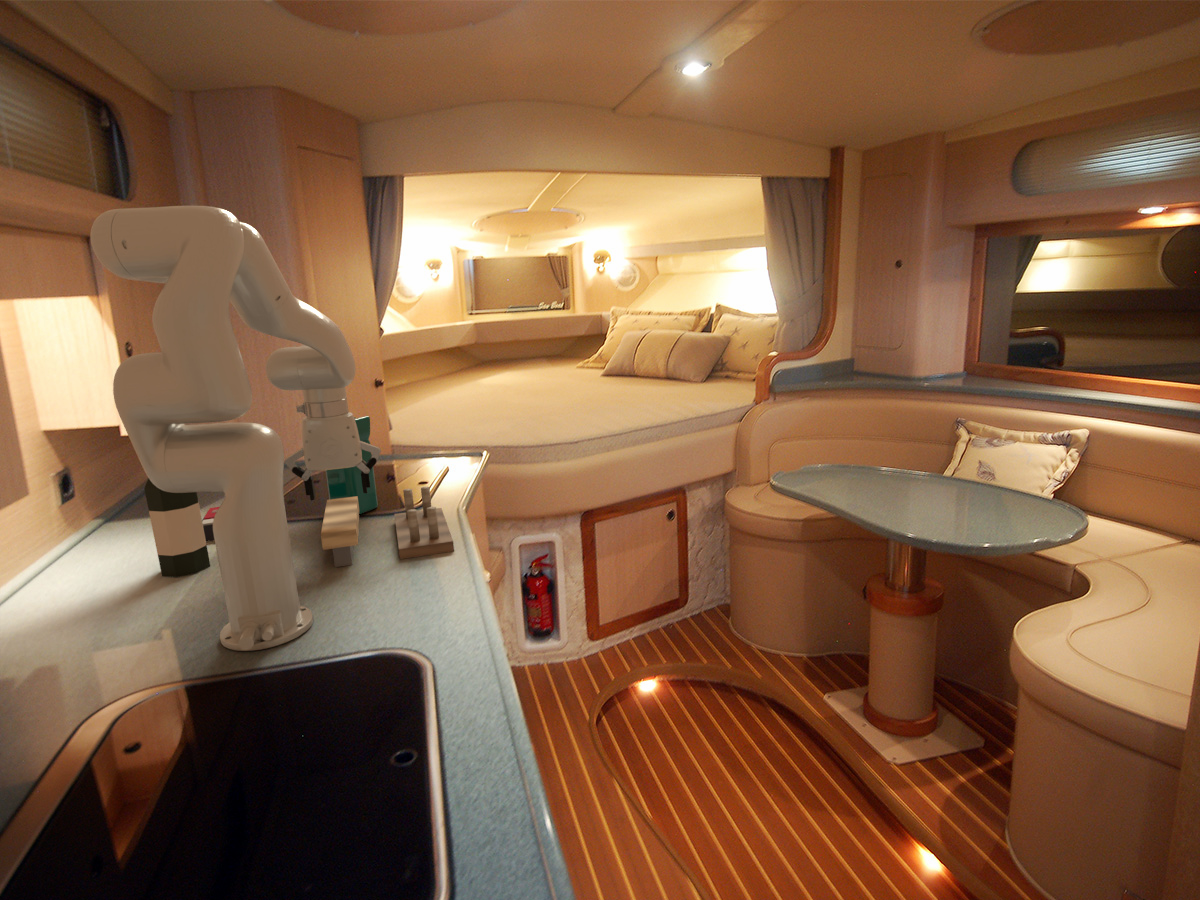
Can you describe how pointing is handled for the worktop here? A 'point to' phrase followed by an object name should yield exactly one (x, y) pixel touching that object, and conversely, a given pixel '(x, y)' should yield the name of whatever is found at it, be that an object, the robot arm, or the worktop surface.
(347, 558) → the block
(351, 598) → the worktop surface
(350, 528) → the wooden block
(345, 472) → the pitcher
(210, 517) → the calculator
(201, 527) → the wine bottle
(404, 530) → the peg stand
